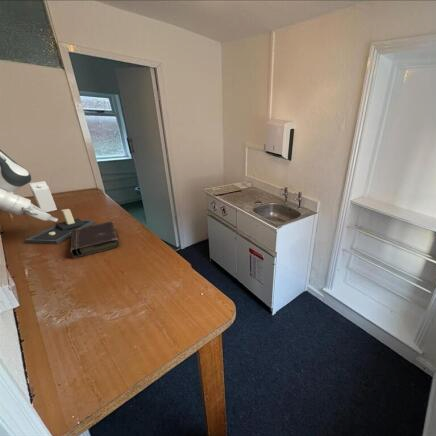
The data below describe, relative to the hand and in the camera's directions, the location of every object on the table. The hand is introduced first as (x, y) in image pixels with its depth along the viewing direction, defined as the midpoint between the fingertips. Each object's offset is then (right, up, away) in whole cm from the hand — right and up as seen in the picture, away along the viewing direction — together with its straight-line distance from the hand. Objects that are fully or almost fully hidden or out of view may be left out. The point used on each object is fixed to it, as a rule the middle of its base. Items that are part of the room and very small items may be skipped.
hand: (53, 218), depth 124 cm
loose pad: (+2, -4, +7) cm, 9 cm away
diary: (+28, -13, -5) cm, 31 cm away
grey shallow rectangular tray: (+3, -8, +3) cm, 9 cm away
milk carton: (-33, +5, +29) cm, 44 cm away
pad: (+3, -10, -3) cm, 10 cm away
